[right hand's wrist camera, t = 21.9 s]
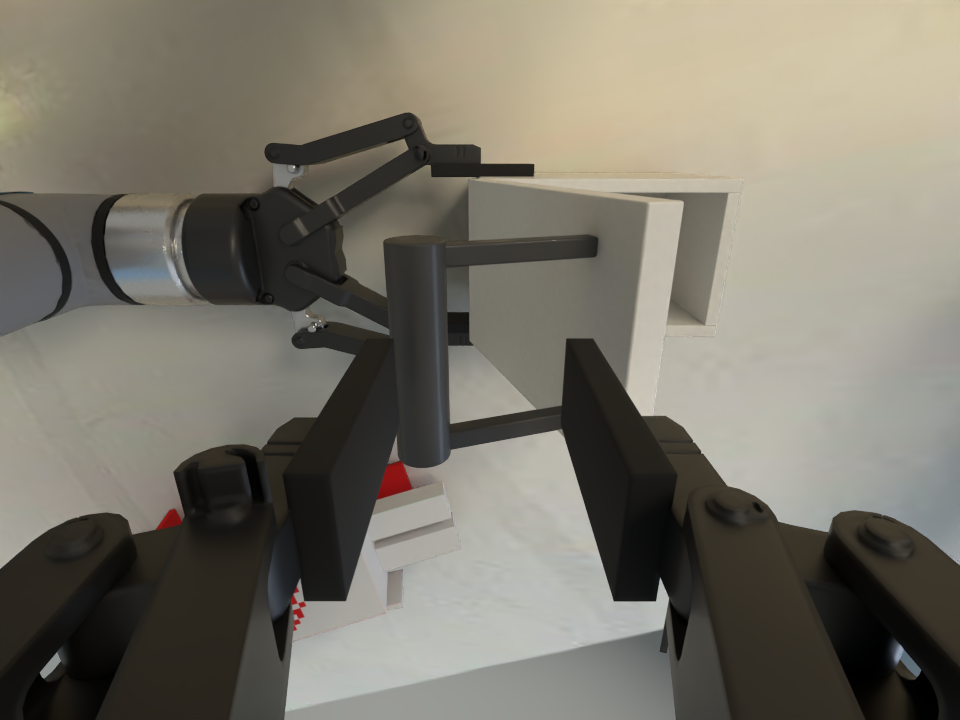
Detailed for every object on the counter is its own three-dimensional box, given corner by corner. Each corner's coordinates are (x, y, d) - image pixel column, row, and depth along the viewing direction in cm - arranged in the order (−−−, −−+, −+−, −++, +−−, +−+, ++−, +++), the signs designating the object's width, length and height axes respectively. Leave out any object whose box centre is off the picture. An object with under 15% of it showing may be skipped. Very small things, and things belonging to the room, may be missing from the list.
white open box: (676, 172, 40) (744, 178, 29) (659, 294, 44) (715, 337, 33) (480, 172, 40) (478, 178, 30) (479, 293, 44) (478, 336, 33)
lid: (685, 200, 15) (398, 210, 12) (644, 482, 18) (417, 535, 16) (489, 178, 29) (338, 180, 27) (488, 338, 33) (355, 354, 30)
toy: (475, 608, 44) (132, 713, 43) (459, 513, 57) (193, 592, 55) (438, 496, 40) (55, 608, 38) (429, 420, 52) (140, 503, 51)
